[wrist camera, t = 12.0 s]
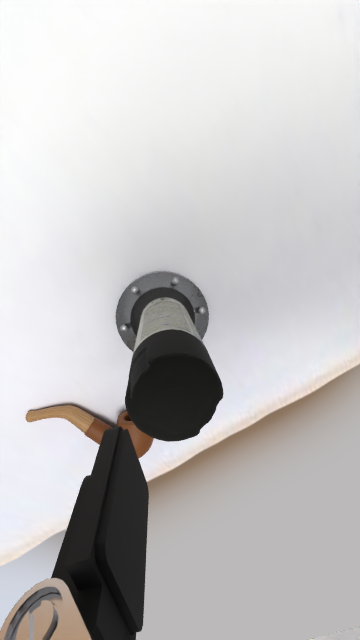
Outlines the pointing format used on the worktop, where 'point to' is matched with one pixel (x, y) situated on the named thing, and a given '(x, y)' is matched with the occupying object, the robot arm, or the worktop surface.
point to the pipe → (94, 425)
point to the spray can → (171, 375)
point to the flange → (155, 288)
